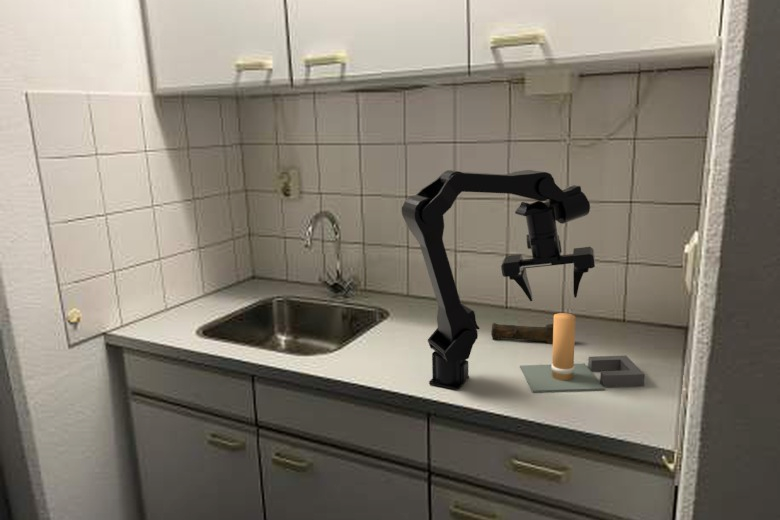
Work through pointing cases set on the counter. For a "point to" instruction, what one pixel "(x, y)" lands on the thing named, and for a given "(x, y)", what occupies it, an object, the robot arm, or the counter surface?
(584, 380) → the mat
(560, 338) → the orange peg
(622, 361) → the dark grey piece
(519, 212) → the robot arm
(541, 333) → the wooden log
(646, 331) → the counter surface
